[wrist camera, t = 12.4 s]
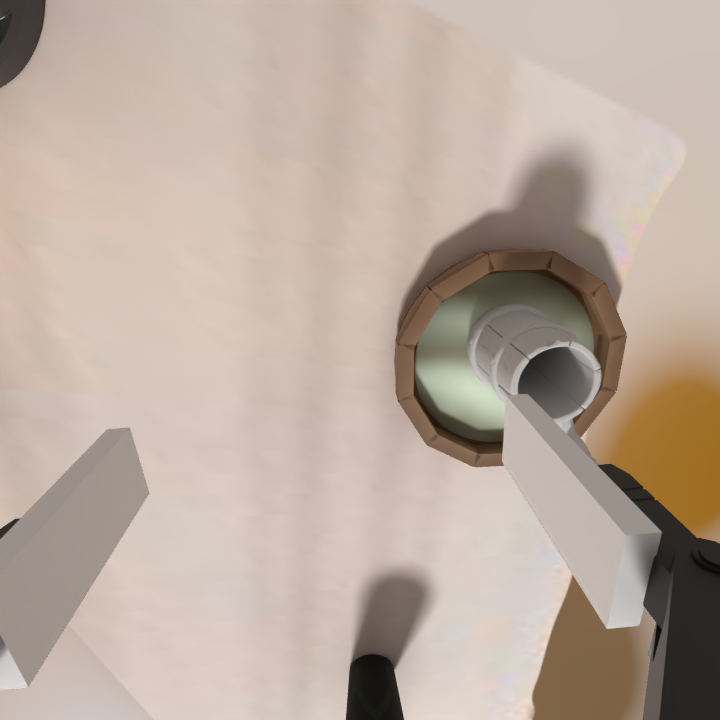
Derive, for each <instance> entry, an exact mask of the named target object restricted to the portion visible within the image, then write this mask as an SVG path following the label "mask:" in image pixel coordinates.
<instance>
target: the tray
mask: <svg viewBox="0 0 720 720" xmlns="http://www.w3.org/2000/svg"><path fill="white" fill-rule="evenodd" d="M506 304H524V305H528V306H532V307H534V308H536V309H538V310H539V311H541V312H542V313H544V314H546V315H547V316H548V317H549V319H550V321H551V322H552V323H556V324H558V325H560V326H562V327H565V328H567V329H570V330H572V331H573V332H574V333H575V335H576V337H577V338H578V340H579V341H580V342H581V343H583V344H584V345H586V346H587V347H588V348H589V349H590V350H591V351H592V352H593V354H594V355H595V357H596V358H597V360H598V362H599V364H600V366H601V368H600V369H601V383H600V387H599V390H598V392H597V393H596V395H595V397H594V399H593V401H592V402H591V403H590V404H589V405H588V407H587V408H586V409H584V408H583V409H584V410H583V411H582V412H581V413H580V414H578V415H577V416H576V417H574V418H573V423H574V429H575V431H576V433H577V434H578V435H579V436H580V437H581V436H582V435H583V434H584V433H585V431H586V430H587V429H588V428H589V426H590V425H591V424H592V422H593V421H594V420H595V419H596V417H597V416H598V415H599V413H600V412H601V411H602V409H603V408H604V407H605V406H606V404H607V403H608V402H609V401H610V399H611V398H612V397H613V396H614V394H615V393H616V392H615V391H617V386H618V381H619V376H620V370H621V365H622V359H623V354H624V349H625V343H626V338H627V336H626V331H625V329H624V327H623V324H622V322H621V319H620V317H619V315H618V312H617V310H616V307H615V305H614V302H613V300H612V298H611V295H610V293H609V290H608V288H607V286H606V283H604V282H603V281H602V280H600V279H599V278H597V277H595V276H594V275H592V274H590V273H589V272H587V271H585V270H584V269H582V268H580V267H579V266H577V265H576V264H574V263H572V262H571V261H569V260H567V259H566V258H564V257H562V256H561V255H559V254H557V253H556V252H553V251H548V250H500V251H488V252H480V253H479V254H477V255H475V256H474V257H471V258H469V259H466V260H464V261H462V262H460V263H458V264H456V265H454V266H452V267H451V268H449V269H448V270H446V271H445V272H443V273H442V274H441V275H439V276H438V277H437V278H436V279H435V280H433V281H432V282H431V283H429V284H428V285H427V287H425V289H424V290H423V291H422V293H421V294H420V295H419V296H418V297H417V299H416V300H415V302H414V303H413V305H412V306H411V308H410V309H409V311H408V313H407V315H406V317H405V319H404V321H403V323H402V326H401V329H400V331H399V333H398V335H397V337H396V348H395V361H394V364H395V376H396V395H397V398H398V402H399V403H400V405H401V406H402V408H403V409H404V411H405V413H406V414H407V416H408V417H409V419H410V420H411V422H412V423H413V425H414V426H415V428H416V429H417V431H418V433H419V434H420V436H421V437H422V439H423V440H424V442H425V443H426V444H427V445H428V446H430V447H432V448H434V449H436V450H438V451H441V452H443V453H445V454H447V455H449V456H451V457H453V458H456V459H458V460H460V461H462V462H464V463H466V464H468V465H470V466H473V467H488V466H504V464H503V462H502V453H503V438H504V422H505V406H506V404H505V403H503V402H502V401H501V400H500V399H499V396H498V395H497V394H496V392H495V391H494V389H493V387H491V386H489V385H488V384H486V383H484V382H482V381H481V380H479V378H478V377H477V375H476V374H475V372H474V371H473V370H472V368H471V365H470V362H469V357H468V352H467V340H468V336H469V334H470V332H471V329H472V327H473V326H474V324H475V322H476V321H477V319H479V320H481V319H480V318H479V317H480V316H481V315H483V314H484V313H485V312H487V311H488V310H490V309H492V308H494V307H497V306H501V305H506Z"/></svg>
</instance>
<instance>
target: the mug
mask: <svg viewBox="0 0 720 720" xmlns="http://www.w3.org/2000/svg"><path fill="white" fill-rule="evenodd" d="M479 318H480V319H481V320H479V319H477V321H476V322H475V324H474V326H473V327H472V329H471V332H470V334H469V336H468V340H467V352H468V357H469V362H470V365H471V368H472V370H473V371H474V372H475V374H476V375H477V377H478V378H479V380H481V381H482V382H484V383H486V384H488V385H489V386H491V387H493V389H494V391H495V392H496V394H497V395H498V396H499V399H500V400H501V401H502V402H503V403H505V404H506V396H507V395H519V394H528V395H529V396H530V397H531V398H532V399H533V400H534V401H535V402H536V403H537V404H538V405H539V406H540V407H541V408H542V409H543V410H544V411H545V412H546V413H547V414H548V415H549V416H550V417H551V418H552V419H553V420H554V421H555V422H556V423H557V425H558V426H559V427H560V428H561V429H562V430H563V431H564V432H565V433H566V434H567V435H568V436H569V437H570V438H571V439H572V440H573V441H574V442H575V443H576V444H577V445H578V446H579V447H580V448H581V449H582V450H583V451H584V452H585V453H586V454H587V455H588V456H589V457H590V458H591V460H592V461H593V462H594V463H595V464H596V465H599V464H598V463H597V461H596V460H595V459H594V458H592V457H591V454H590V452H589V450H588V447H587V446H586V444H585V443H584V442H583V440H582V439H581V438H580V437H579V435H578V434H577V433H576V431H575V429H574V423H573V418H574V417H576V416H577V415H578V414H580V413H581V412H582V411H583V410H584V409H586V408H587V407H588V405H589V404H590V403H591V402H592V401H593V399H594V397H595V395H596V393H597V392H598V390H599V387H600V383H601V369H600V368H601V366H600V364H599V362H598V360H597V358H596V357H595V355H594V354H593V352H592V351H591V350H590V349H589V348H588V347H587V346H586V345H584V344H583V343H581V342H580V341H579V340H578V338H577V337H576V335H575V333H574V332H573V331H572V330H570V329H567V328H565V327H562V326H560V325H558V324H556V323H552V322H551V321H550V319H549V317H548V316H547V315H546V314H544V313H542V312H541V311H539V310H538V309H536V308H534V307H532V306H528V305H524V304H506V305H501V306H497V307H494V308H492V309H490V310H488V311H487V312H485V313H484V314H483V315H481V316H480V317H479ZM583 408H584V409H583Z"/></svg>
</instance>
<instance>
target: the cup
mask: <svg viewBox="0 0 720 720" xmlns="http://www.w3.org/2000/svg"><path fill="white" fill-rule="evenodd" d="M346 720H404V717H403V712H402V707H401V702H400V697H399V692H398V687H397V682H396V677H395V672H394V667H393V664H392V663H391V661H390V660H389V659H387V658H386V657H383V656H380V655H373V654H372V655H365V656H362V657H360V658H358V659H356V660H355V661H354V662H353V663H352V665H351V667H350V672H349V686H348V699H347V713H346Z"/></svg>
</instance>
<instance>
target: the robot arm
mask: <svg viewBox="0 0 720 720" xmlns="http://www.w3.org/2000/svg"><path fill="white" fill-rule="evenodd" d="M43 11H44V0H0V88H1V87H2V86H4V85H6V84H7V83H9V82H10V81H11V80H13V79H14V78H15V77H16V76H17V75H18V74H19V73H20V72H21V71H22V70H23V68H24V67H25V66H26V64H27V63H28V61H29V60H30V58H31V56H32V54H33V52H34V50H35V48H36V45H37V43H38V39H39V36H40V32H41V27H42V21H43ZM502 462H503V464H504V466H505V467H506V469H507V470H508V472H509V474H510V475H511V477H512V478H513V480H514V482H515V483H516V485H517V486H518V488H519V490H520V491H521V493H522V494H523V496H524V497H525V499H526V501H527V502H528V504H529V505H530V507H531V509H532V510H533V512H534V513H535V515H536V517H537V518H538V520H539V521H540V523H541V525H542V526H543V528H544V529H545V531H546V533H547V534H548V536H549V537H550V539H551V541H552V542H553V544H554V545H555V547H556V548H557V550H558V552H559V553H560V555H561V556H562V558H563V560H564V561H565V563H566V564H567V566H568V568H569V569H570V571H571V572H572V574H573V576H574V577H575V579H576V580H577V582H578V583H579V585H580V587H581V588H582V590H583V591H584V593H585V595H586V596H587V598H588V599H589V601H590V603H591V604H592V606H593V607H594V609H595V611H596V612H597V614H598V615H599V617H600V618H601V620H602V622H603V623H604V625H605V626H606V628H607V629H610V628H620V627H630V626H639V625H640V621H641V617H642V613H643V609H644V607H645V608H646V609H647V611H648V612H649V613H650V615H651V616H652V617H653V619H654V620H655V621H656V626H655V629H654V633H653V637H652V641H651V645H650V649H649V652H648V656H650V657H651V658H650V666H649V674H648V681H647V689H646V697H645V705H644V714H643V720H720V544H719V543H717V542H715V541H711V540H706V539H702V538H696V537H695V536H694V535H693V534H692V533H691V532H690V531H689V530H688V529H687V528H686V527H685V526H684V525H683V524H682V523H680V521H678V520H677V519H676V518H675V517H674V516H673V515H672V514H671V513H670V512H669V511H668V510H667V509H666V508H665V507H664V506H663V505H662V504H661V503H659V502H658V501H657V500H655V499H654V497H653V496H652V495H651V494H650V493H649V492H648V491H647V490H644V489H643V486H642V485H640V484H639V483H638V482H637V481H636V480H635V479H634V478H633V477H632V476H631V475H630V474H628V473H626V472H625V471H623V470H621V469H619V468H617V467H616V466H614V465H612V464H604V465H596V464H595V463H594V462H593V461H592V460H591V458H590V457H589V456H588V455H587V454H586V453H585V452H584V451H583V450H582V449H581V448H580V447H579V446H578V445H577V444H576V443H575V442H574V441H573V440H572V439H571V438H570V437H569V436H568V435H567V434H566V433H565V432H564V431H563V430H562V429H561V428H560V427H559V426H558V425H557V423H556V422H555V421H554V420H553V419H552V418H551V417H550V416H549V415H548V414H547V413H546V412H545V411H544V410H543V409H542V408H541V407H540V406H539V405H538V404H537V403H536V402H535V401H534V400H533V399H532V398H531V397H530V396H529V395H528V394H519V395H507V396H506V406H505V422H504V438H503V453H502ZM148 495H149V490H148V487H147V484H146V480H145V477H144V474H143V470H142V467H141V464H140V460H139V457H138V454H137V450H136V447H135V444H134V440H133V437H132V434H131V430H130V428H120V429H109V430H106V431H105V432H104V433H103V434H102V435H101V436H100V437H99V439H98V440H97V441H96V442H95V443H94V444H93V445H92V446H91V447H90V448H89V449H88V450H87V451H86V452H85V453H84V454H83V455H82V456H81V457H80V458H79V459H78V460H77V461H76V462H75V463H74V464H73V465H72V466H71V467H70V468H69V469H68V470H67V471H66V472H65V473H64V474H63V475H62V477H61V478H60V479H59V480H58V481H57V482H56V483H55V484H54V485H53V486H52V487H51V488H50V489H49V490H48V491H47V492H46V493H45V494H44V495H43V496H42V497H41V498H40V499H39V500H38V501H37V502H36V503H35V504H34V505H33V506H32V507H31V508H30V509H29V510H28V511H27V512H26V513H25V515H24V516H23V517H22V518H20V519H14V520H13V521H11V522H10V523H8V524H7V525H5V526H4V527H3V528H1V529H0V690H4V689H14V688H23V687H29V685H30V683H31V682H32V680H33V679H34V677H35V676H36V674H37V672H38V671H39V669H40V668H41V666H42V664H43V663H44V661H45V660H46V658H47V656H48V655H49V653H50V652H51V650H52V648H53V647H54V645H55V644H56V642H57V640H58V639H59V637H60V635H61V634H62V632H63V631H64V629H65V628H66V626H67V624H68V623H69V621H70V620H71V618H72V616H73V615H74V613H75V612H76V610H77V608H78V607H79V605H80V603H81V602H82V600H83V599H84V597H85V595H86V594H87V592H88V591H89V589H90V587H91V586H92V584H93V583H94V581H95V579H96V578H97V576H98V575H99V573H100V571H101V570H102V568H103V567H104V565H105V563H106V562H107V560H108V559H109V557H110V555H111V554H112V552H113V551H114V549H115V547H116V546H117V544H118V543H119V541H120V539H121V538H122V536H123V535H124V533H125V531H126V530H127V528H128V527H129V525H130V523H131V522H132V520H133V519H134V517H135V515H136V514H137V512H138V511H139V509H140V507H141V506H142V504H143V503H144V501H145V499H146V498H147V496H148Z"/></svg>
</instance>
